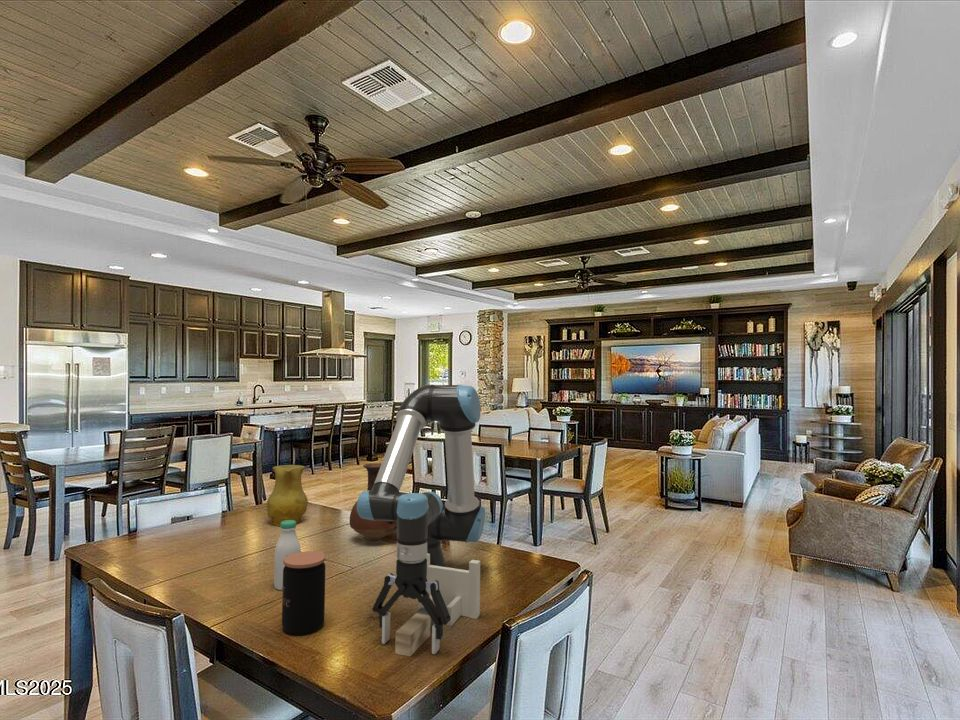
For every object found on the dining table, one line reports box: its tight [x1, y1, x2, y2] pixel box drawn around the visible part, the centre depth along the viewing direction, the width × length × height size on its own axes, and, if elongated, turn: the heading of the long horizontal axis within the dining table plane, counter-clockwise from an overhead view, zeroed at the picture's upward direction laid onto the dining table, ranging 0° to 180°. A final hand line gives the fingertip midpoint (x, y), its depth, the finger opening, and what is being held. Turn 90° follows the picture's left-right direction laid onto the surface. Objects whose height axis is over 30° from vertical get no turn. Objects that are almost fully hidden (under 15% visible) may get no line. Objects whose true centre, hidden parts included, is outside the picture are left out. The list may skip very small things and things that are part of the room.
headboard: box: [417, 553, 481, 627], centre depth 148 cm, size 18×9×15 cm, turn 70°
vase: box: [349, 462, 397, 542], centre depth 214 cm, size 25×20×30 cm
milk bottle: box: [273, 520, 302, 591], centre depth 168 cm, size 8×8×20 cm
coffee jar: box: [281, 550, 326, 636], centre depth 141 cm, size 11×11×18 cm
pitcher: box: [266, 464, 309, 527], centre depth 238 cm, size 17×19×25 cm
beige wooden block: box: [394, 607, 435, 657], centre depth 134 cm, size 14×4×5 cm, turn 160°
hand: (410, 646), depth 131 cm, fingers open, 13 cm apart
